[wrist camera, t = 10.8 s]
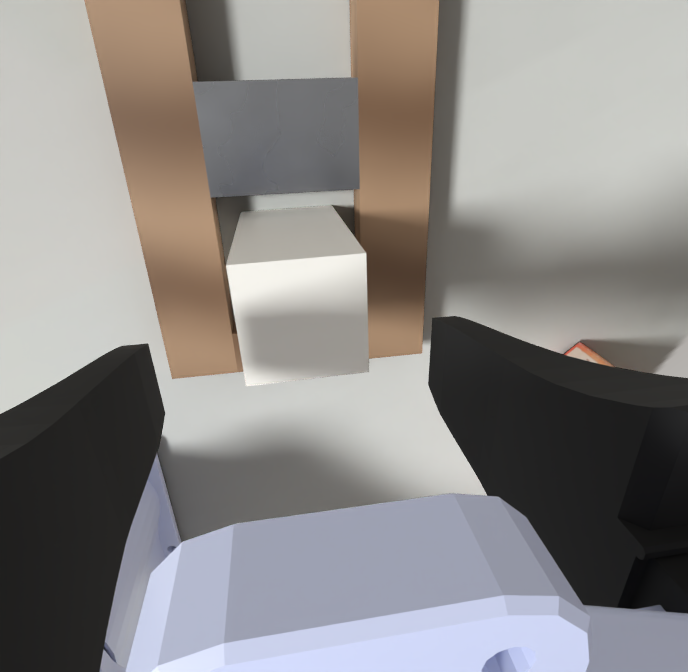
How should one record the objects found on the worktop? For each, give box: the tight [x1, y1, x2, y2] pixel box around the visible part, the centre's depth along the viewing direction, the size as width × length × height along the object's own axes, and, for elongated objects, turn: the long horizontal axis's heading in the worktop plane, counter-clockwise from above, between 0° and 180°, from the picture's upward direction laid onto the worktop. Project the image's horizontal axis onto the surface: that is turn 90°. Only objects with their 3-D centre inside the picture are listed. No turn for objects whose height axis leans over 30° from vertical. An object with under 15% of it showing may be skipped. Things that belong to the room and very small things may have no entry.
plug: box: [226, 205, 369, 386], centre depth 17 cm, size 4×4×8 cm
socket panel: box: [84, 0, 439, 379], centre depth 18 cm, size 20×12×2 cm, turn 2°
